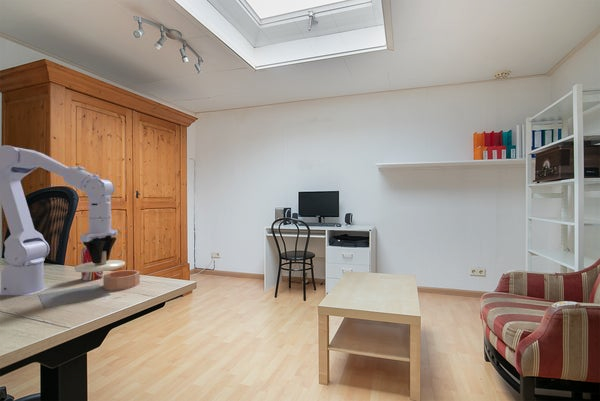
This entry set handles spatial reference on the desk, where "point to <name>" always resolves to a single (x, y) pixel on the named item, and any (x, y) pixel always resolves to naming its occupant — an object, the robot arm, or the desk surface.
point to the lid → (100, 265)
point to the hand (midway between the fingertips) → (100, 261)
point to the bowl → (121, 279)
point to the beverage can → (86, 259)
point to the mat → (72, 295)
